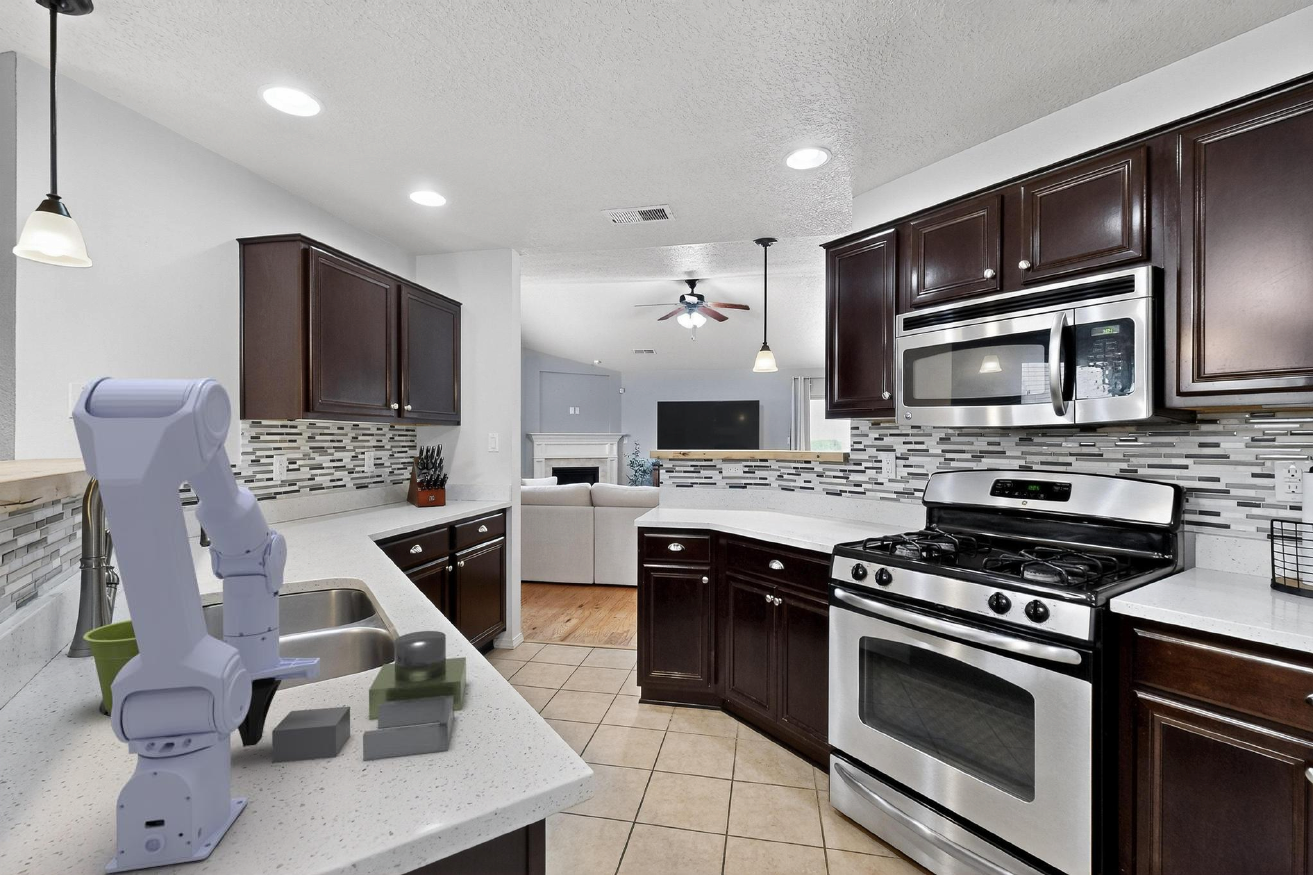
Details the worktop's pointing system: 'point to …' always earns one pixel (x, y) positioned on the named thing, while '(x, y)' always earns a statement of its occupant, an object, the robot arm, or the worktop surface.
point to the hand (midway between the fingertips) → (252, 741)
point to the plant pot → (111, 653)
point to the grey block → (311, 734)
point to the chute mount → (415, 698)
